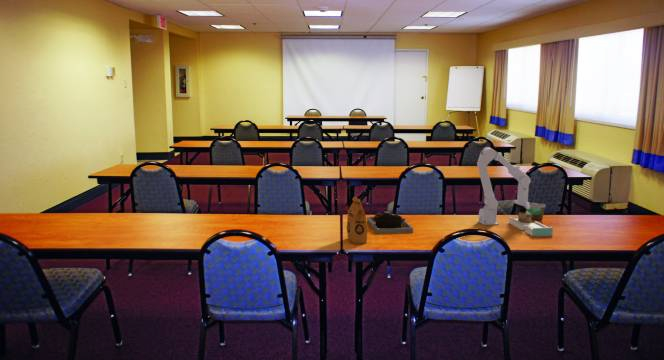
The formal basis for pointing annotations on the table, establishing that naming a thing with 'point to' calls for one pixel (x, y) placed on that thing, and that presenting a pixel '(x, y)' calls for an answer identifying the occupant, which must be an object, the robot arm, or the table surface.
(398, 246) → the table surface
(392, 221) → the black lump on tray
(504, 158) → the robot arm
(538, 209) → the food container
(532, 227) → the trap runway
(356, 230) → the coffee package
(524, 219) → the walnut block
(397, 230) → the tray
